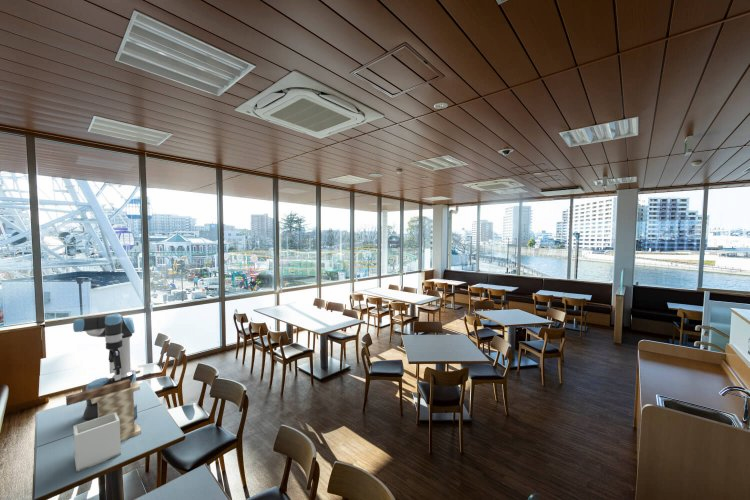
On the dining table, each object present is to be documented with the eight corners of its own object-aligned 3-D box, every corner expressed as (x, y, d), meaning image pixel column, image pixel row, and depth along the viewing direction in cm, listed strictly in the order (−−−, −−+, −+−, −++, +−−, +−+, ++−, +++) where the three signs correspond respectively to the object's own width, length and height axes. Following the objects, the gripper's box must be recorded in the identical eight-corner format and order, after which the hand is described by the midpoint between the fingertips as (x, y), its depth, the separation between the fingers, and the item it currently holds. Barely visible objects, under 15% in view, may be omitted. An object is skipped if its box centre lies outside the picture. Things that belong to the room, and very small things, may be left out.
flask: (134, 416, 209) (133, 401, 209) (138, 416, 210) (138, 401, 209) (125, 425, 200) (124, 409, 200) (130, 424, 201) (129, 408, 200)
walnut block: (66, 405, 169) (66, 398, 169) (66, 403, 172) (66, 396, 171) (130, 387, 190) (130, 381, 189) (129, 385, 192) (129, 378, 192)
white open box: (76, 472, 160) (75, 435, 159) (74, 461, 168) (73, 425, 167) (120, 454, 173) (119, 420, 172) (117, 444, 181) (116, 411, 181)
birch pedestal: (93, 451, 176) (91, 400, 174) (91, 443, 182) (89, 394, 181) (141, 433, 192) (139, 386, 191) (137, 426, 199) (136, 381, 197)
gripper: (127, 344, 175) (128, 380, 177) (117, 334, 191) (118, 368, 193) (110, 348, 170) (111, 385, 171) (101, 337, 186) (102, 372, 187)
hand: (115, 376), depth 182 cm, fingers open, 13 cm apart
